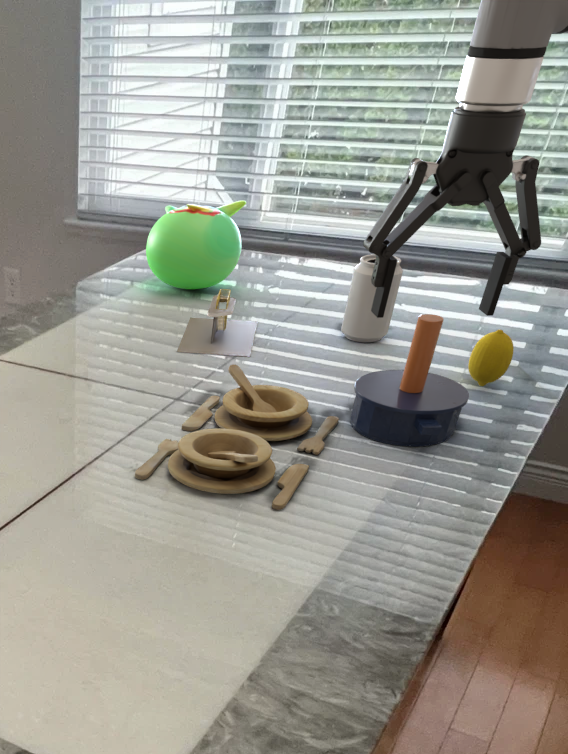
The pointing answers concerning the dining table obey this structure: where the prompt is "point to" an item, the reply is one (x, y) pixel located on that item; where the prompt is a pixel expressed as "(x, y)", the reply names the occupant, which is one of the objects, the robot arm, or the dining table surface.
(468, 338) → the dining table surface
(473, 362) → the lemon
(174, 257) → the toy bird
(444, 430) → the pan
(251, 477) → the tableware set
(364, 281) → the can
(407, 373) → the pan lid
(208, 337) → the platform
